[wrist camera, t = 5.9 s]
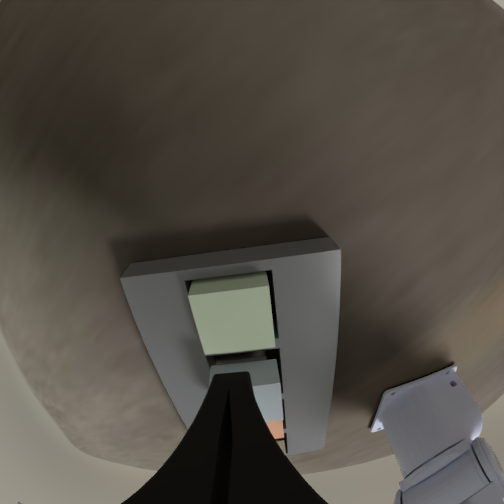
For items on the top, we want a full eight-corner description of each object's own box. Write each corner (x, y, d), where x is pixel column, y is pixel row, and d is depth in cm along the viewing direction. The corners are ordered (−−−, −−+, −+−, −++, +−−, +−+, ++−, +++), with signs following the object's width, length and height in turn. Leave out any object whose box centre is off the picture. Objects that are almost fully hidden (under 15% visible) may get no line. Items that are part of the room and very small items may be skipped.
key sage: (263, 260, 16) (269, 285, 13) (270, 316, 18) (275, 347, 15) (195, 269, 16) (187, 295, 13) (208, 324, 18) (204, 354, 15)
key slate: (274, 348, 17) (280, 382, 14) (278, 387, 18) (283, 419, 16) (211, 355, 17) (208, 389, 14) (223, 393, 18) (222, 425, 16)
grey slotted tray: (329, 236, 16) (341, 249, 14) (320, 434, 24) (323, 448, 22) (131, 263, 16) (119, 278, 14) (208, 446, 24) (207, 461, 22)
